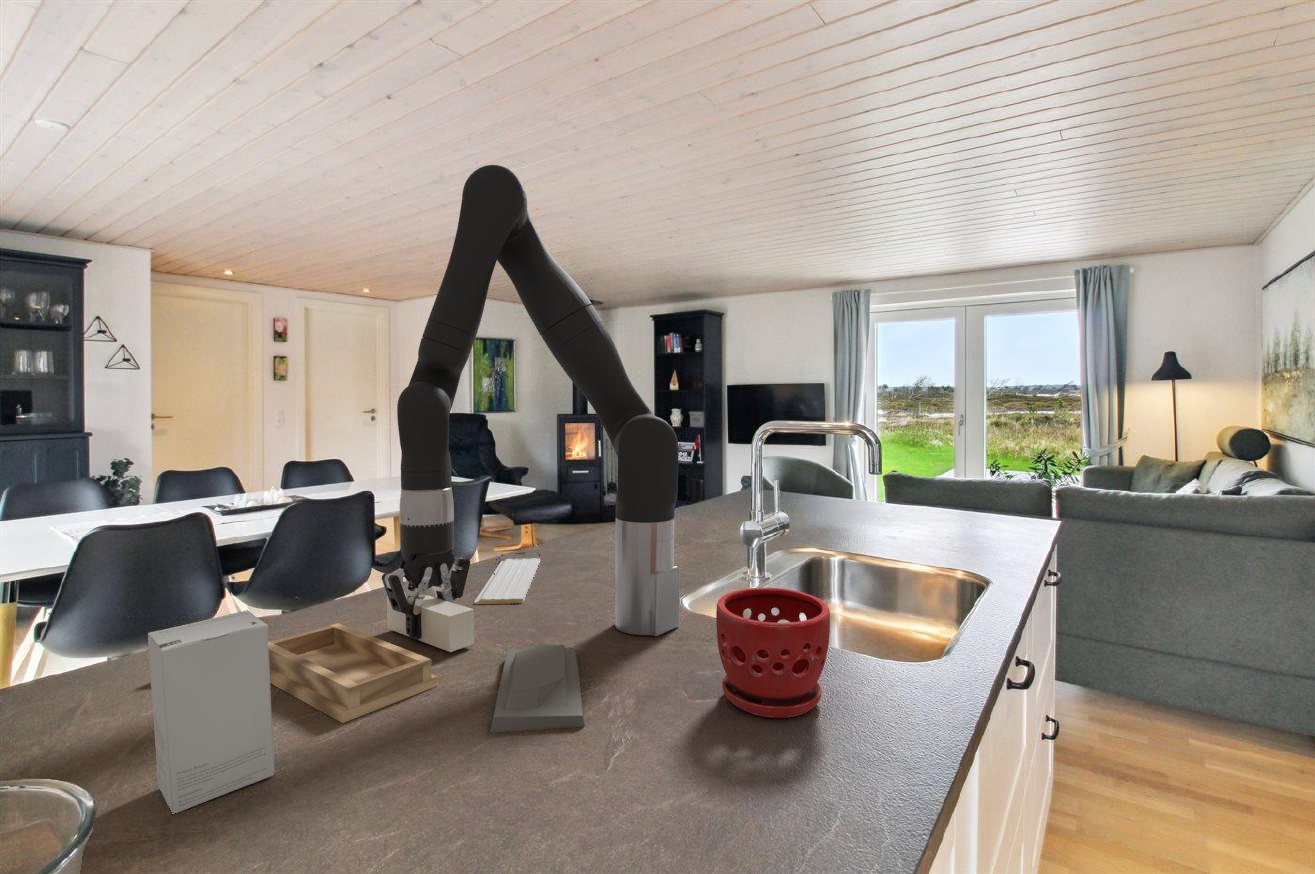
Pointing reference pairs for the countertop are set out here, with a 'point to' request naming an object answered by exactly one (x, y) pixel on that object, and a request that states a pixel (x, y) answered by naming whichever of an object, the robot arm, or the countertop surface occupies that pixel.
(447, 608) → the white rectangular block
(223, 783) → the skincare box
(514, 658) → the soap mold
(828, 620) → the plant pot
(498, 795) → the countertop surface
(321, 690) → the tray
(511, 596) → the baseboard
